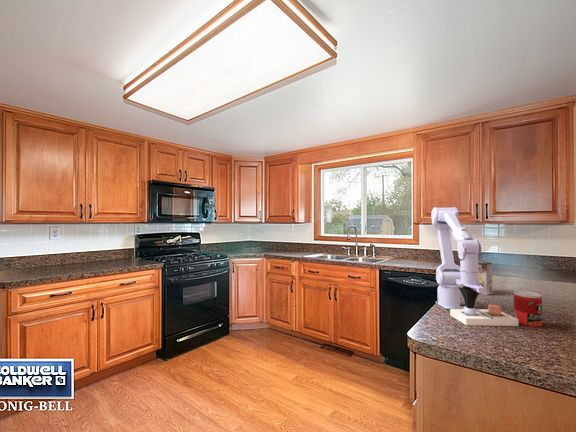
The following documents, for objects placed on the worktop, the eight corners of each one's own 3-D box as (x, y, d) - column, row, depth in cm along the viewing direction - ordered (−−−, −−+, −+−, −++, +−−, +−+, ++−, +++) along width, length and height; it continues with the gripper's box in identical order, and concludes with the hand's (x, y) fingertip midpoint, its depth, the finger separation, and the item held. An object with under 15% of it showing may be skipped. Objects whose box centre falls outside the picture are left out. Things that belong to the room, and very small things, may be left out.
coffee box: (467, 291, 148) (467, 261, 149) (474, 290, 152) (473, 260, 152) (487, 295, 141) (486, 263, 141) (493, 293, 144) (492, 262, 144)
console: (450, 315, 111) (450, 307, 112) (497, 315, 111) (496, 308, 111) (466, 325, 100) (466, 316, 101) (518, 326, 100) (518, 317, 100)
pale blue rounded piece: (461, 315, 108) (461, 306, 108) (472, 315, 108) (472, 306, 108) (467, 319, 104) (467, 309, 104) (478, 319, 104) (478, 309, 104)
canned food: (531, 328, 97) (531, 297, 97) (508, 320, 105) (508, 291, 105) (548, 326, 99) (547, 295, 99) (524, 318, 107) (523, 289, 107)
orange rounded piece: (485, 313, 107) (485, 304, 107) (496, 313, 107) (496, 304, 107) (492, 317, 103) (492, 307, 103) (504, 317, 103) (503, 307, 103)
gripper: (448, 268, 114) (448, 301, 113) (469, 274, 99) (470, 313, 99) (466, 268, 113) (466, 301, 113) (490, 275, 99) (491, 313, 98)
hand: (469, 307), depth 106 cm, fingers closed
